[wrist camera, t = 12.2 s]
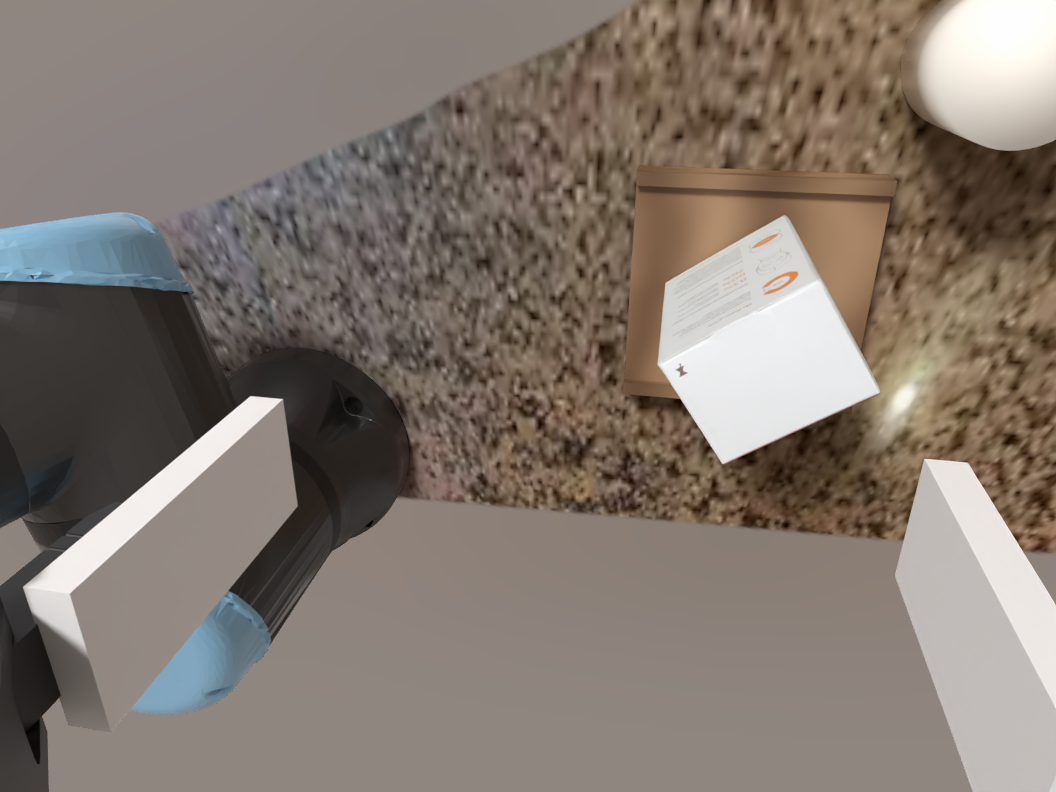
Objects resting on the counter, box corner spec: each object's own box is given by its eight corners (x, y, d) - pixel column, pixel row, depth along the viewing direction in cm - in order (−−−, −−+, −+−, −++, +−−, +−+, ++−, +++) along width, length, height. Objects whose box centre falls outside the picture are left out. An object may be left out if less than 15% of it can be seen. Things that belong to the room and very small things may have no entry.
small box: (714, 365, 50) (719, 469, 38) (662, 281, 48) (652, 363, 37) (838, 302, 47) (885, 394, 35) (787, 210, 45) (819, 275, 34)
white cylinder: (888, 127, 44) (925, 148, 37) (925, -67, 40) (974, -86, 33) (1026, 131, 43) (1092, 153, 36) (1078, -69, 39) (1164, -89, 32)
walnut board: (625, 380, 53) (622, 393, 51) (639, 165, 47) (636, 171, 45) (845, 398, 51) (850, 413, 49) (889, 174, 45) (897, 181, 43)
